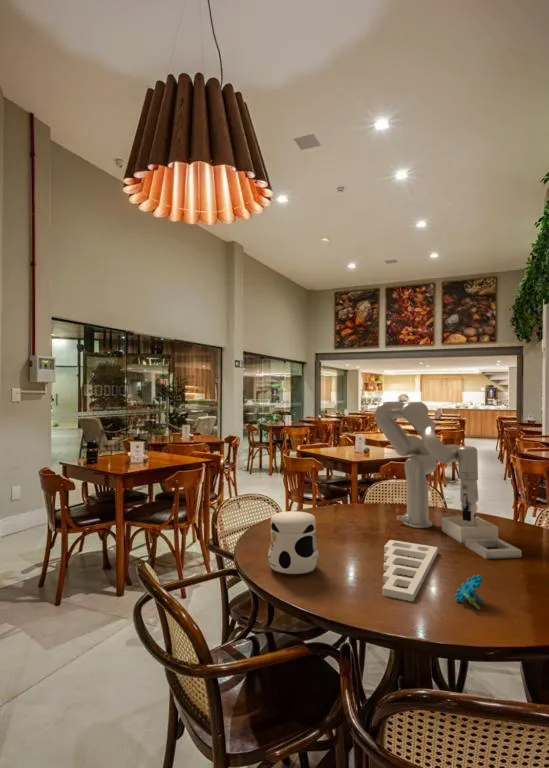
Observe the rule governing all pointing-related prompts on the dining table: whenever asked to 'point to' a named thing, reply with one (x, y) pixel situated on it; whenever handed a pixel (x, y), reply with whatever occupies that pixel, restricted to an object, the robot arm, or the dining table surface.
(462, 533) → the bin
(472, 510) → the lightbulb
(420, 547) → the holder
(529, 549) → the dining table surface
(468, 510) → the robot arm
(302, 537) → the milk container
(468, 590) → the blue lumpy piece
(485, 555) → the socket collar
